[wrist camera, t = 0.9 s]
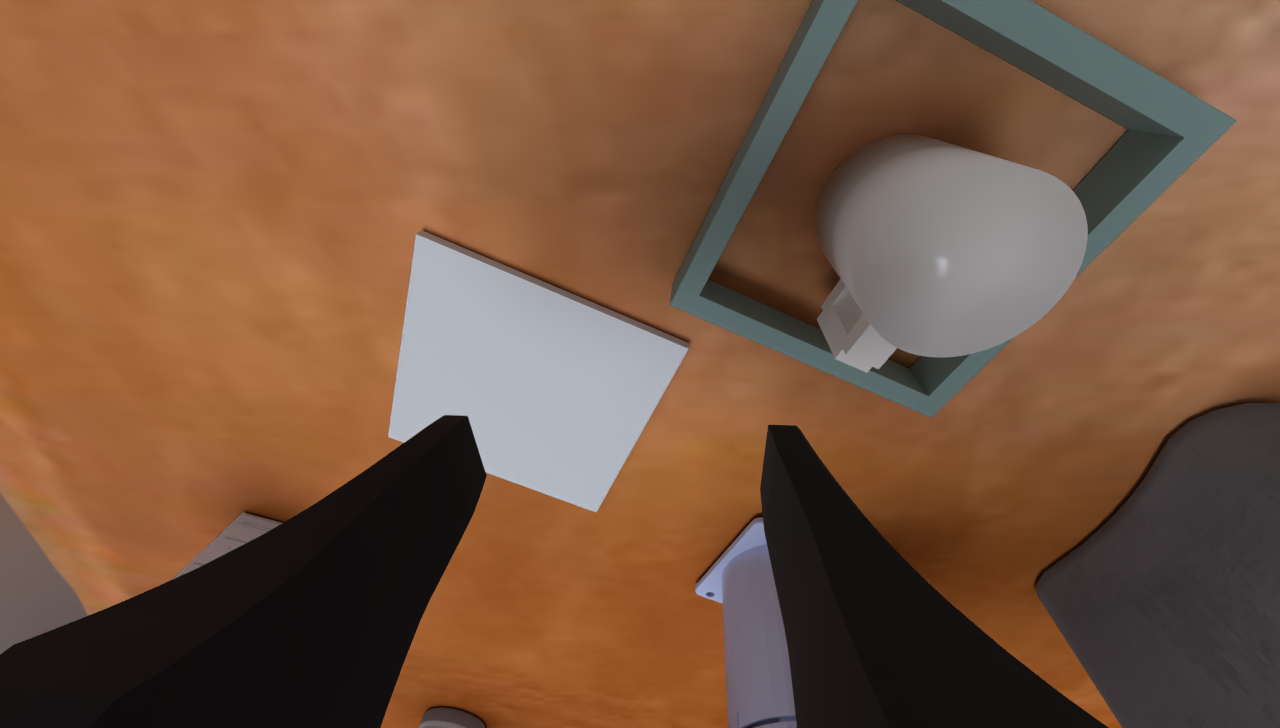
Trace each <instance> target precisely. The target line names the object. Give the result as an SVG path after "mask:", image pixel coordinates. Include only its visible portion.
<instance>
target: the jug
mask: <svg viewBox="0 0 1280 728" xmlns="http://www.w3.org/2000/svg"><path fill="white" fill-rule="evenodd" d="M814 228H815V235H816V239H817V242H818V245H819V247H820V249H821V251H822V252H823V254H824V255H825V257H826V258H827V260H828V261H829V263H830V264H831V266H832V267H833V269H834V270H835V271H836V273H837V274H838V276H839V277H840V280H839V282H838V283H837V285H836V286H835V287H834V289H833V290H832V292H831V293H830V294H829V296H828V297H827V299H826V300H825V301H824V303H823V304H822V306H821V308H822V310H823V311H822V313H821V314H820V315H819V317H818V318H817V322H818V324H819V326H820V328H821V330H822V332H823V334H824V336H825V339H826V341H827V343H828V345H829V347H830V349H831V351H832V353H833V356H834V358H835V359H836V360H839V361H841V362H843V363H846V364H848V365H850V366H852V367H855V368H857V369H859V370H862V371H864V372H866V373H867V372H868V371H869V370H870V369H871V368H872V367H874V368H876V369H879V368H880V367H881V366H882V365H883V364H884V363H885V362H886V360H887V359H888V358H889V357H890V356H891V355H892V354H893V352H894V351H895V350H896V349H897V348H898V349H900V350H903V351H906V352H908V353H911V354H915V355H920V356H926V357H956V356H963V355H968V354H973V353H977V352H980V351H983V350H987V349H989V348H992V347H994V346H997V345H1000V344H1002V343H1004V342H1006V341H1008V340H1010V339H1012V338H1014V337H1015V336H1017V335H1019V334H1020V333H1022V332H1024V331H1025V330H1027V329H1028V328H1029V327H1031V326H1032V325H1034V324H1035V323H1036V322H1038V321H1039V320H1040V319H1041V318H1042V317H1043V316H1045V315H1046V314H1047V313H1048V312H1049V311H1050V310H1051V309H1052V308H1053V307H1054V306H1055V305H1056V304H1057V303H1058V302H1059V300H1060V299H1061V298H1062V297H1063V295H1064V294H1065V293H1066V291H1067V290H1068V289H1069V287H1070V285H1071V284H1072V282H1073V281H1074V279H1075V277H1076V275H1077V273H1078V271H1079V269H1080V267H1081V264H1082V261H1083V258H1084V255H1085V252H1086V246H1087V239H1088V225H1087V220H1086V215H1085V212H1084V209H1083V207H1082V204H1081V202H1080V200H1079V199H1078V197H1077V196H1076V195H1075V193H1074V192H1073V191H1072V190H1071V189H1070V188H1069V187H1068V186H1067V185H1066V184H1065V183H1064V182H1062V181H1061V180H1059V179H1058V178H1056V177H1055V176H1053V175H1051V174H1048V173H1046V172H1043V171H1041V170H1038V169H1034V168H1031V167H1028V166H1024V165H1021V164H1018V163H1014V162H1011V161H1008V160H1004V159H1001V158H997V157H994V156H991V155H987V154H984V153H981V152H977V151H974V150H970V149H967V148H964V147H960V146H957V145H954V144H950V143H947V142H944V141H940V140H937V139H933V138H930V137H926V136H922V135H916V134H898V135H893V136H888V137H884V138H881V139H878V140H876V141H873V142H871V143H869V144H867V145H865V146H863V147H862V148H860V149H858V150H857V151H855V152H854V153H853V154H851V155H850V156H849V157H847V158H846V159H845V160H844V161H843V162H842V163H841V164H840V165H839V166H838V167H837V168H836V170H835V171H834V172H833V173H832V175H831V176H830V177H829V179H828V180H827V182H826V184H825V185H824V187H823V189H822V191H821V194H820V196H819V199H818V202H817V205H816V209H815V217H814Z"/></svg>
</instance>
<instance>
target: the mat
mask: <svg viewBox="0 0 1280 728" xmlns="http://www.w3.org/2000/svg"><path fill="white" fill-rule="evenodd" d="M688 349H689V343H688V342H685V341H683V340H680V339H678V338H676V337H673V336H671V335H669V334H666V333H664V332H662V331H659V330H657V329H654V328H652V327H650V326H647V325H645V324H643V323H640V322H638V321H636V320H633V319H631V318H628V317H626V316H624V315H621V314H619V313H617V312H614V311H612V310H610V309H607V308H605V307H602V306H600V305H598V304H595V303H593V302H591V301H588V300H586V299H583V298H581V297H579V296H576V295H574V294H572V293H569V292H567V291H565V290H562V289H560V288H557V287H555V286H553V285H550V284H548V283H546V282H543V281H541V280H539V279H536V278H534V277H531V276H529V275H527V274H524V273H522V272H520V271H517V270H515V269H512V268H510V267H508V266H505V265H503V264H501V263H498V262H496V261H494V260H491V259H489V258H486V257H484V256H482V255H479V254H477V253H475V252H472V251H470V250H468V249H465V248H463V247H460V246H458V245H456V244H453V243H451V242H449V241H446V240H444V239H442V238H439V237H437V236H434V235H432V234H430V233H427V232H425V231H423V230H422V231H421V232H419V233H417V234H416V239H415V247H414V254H413V261H412V268H411V276H410V283H409V290H408V297H407V304H406V312H405V319H404V326H403V333H402V340H401V348H400V355H399V362H398V369H397V376H396V384H395V391H394V398H393V405H392V413H391V420H390V427H389V434H388V437H390V438H393V439H395V440H398V441H401V442H404V443H405V442H406V441H407V440H409V439H410V438H412V437H413V436H414V435H416V434H417V433H419V432H420V431H421V430H423V429H424V428H426V427H427V426H428V425H430V424H431V423H433V422H434V421H436V420H437V419H439V418H441V417H442V416H444V415H460V416H468V418H469V421H470V425H471V428H472V431H473V434H474V437H475V441H476V444H477V447H478V450H479V453H480V457H481V460H482V463H483V466H484V469H485V472H486V473H489V474H492V475H495V476H497V477H500V478H503V479H506V480H508V481H511V482H514V483H517V484H519V485H522V486H525V487H528V488H530V489H533V490H536V491H539V492H541V493H544V494H547V495H550V496H552V497H555V498H558V499H561V500H563V501H566V502H569V503H572V504H574V505H577V506H580V507H583V508H585V509H588V510H591V511H594V512H597V510H598V508H599V507H600V505H601V503H602V501H603V500H604V498H605V496H606V494H607V492H608V491H609V489H610V487H611V485H612V484H613V482H614V480H615V478H616V477H617V475H618V473H619V471H620V469H621V468H622V466H623V464H624V462H625V461H626V459H627V457H628V455H629V454H630V452H631V450H632V448H633V446H634V445H635V443H636V441H637V439H638V438H639V436H640V434H641V432H642V431H643V429H644V427H645V425H646V423H647V422H648V420H649V418H650V416H651V415H652V413H653V411H654V409H655V408H656V406H657V404H658V402H659V400H660V399H661V397H662V395H663V393H664V392H665V390H666V388H667V386H668V384H669V383H670V381H671V379H672V377H673V376H674V374H675V372H676V370H677V369H678V367H679V365H680V363H681V361H682V360H683V358H684V356H685V354H686V353H687V351H688Z"/></svg>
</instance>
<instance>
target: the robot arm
mask: <svg viewBox="0 0 1280 728" xmlns="http://www.w3.org/2000/svg"><path fill="white" fill-rule="evenodd" d="M485 479H486V472H485V469H484V466H483V463H482V460H481V457H480V453H479V450H478V447H477V444H476V441H475V437H474V434H473V431H472V428H471V425H470V421H469V418H468V416H460V415H444V416H442V417H441V418H439V419H437V420H436V421H434V422H433V423H431V424H430V425H428V426H427V427H426V428H424V429H423V430H421V431H420V432H419V433H417V434H416V435H414V436H413V437H412V438H410V439H409V440H407V441H406V442H405V443H403V444H402V445H400V446H399V447H398V448H396V449H395V450H394V451H392V452H391V453H389V454H388V455H386V456H385V457H384V458H382V459H381V460H379V461H378V462H377V463H375V464H374V465H372V466H371V467H370V468H368V469H367V470H365V471H364V472H363V473H361V474H359V475H358V476H356V477H355V478H353V479H352V480H350V481H349V482H347V483H346V484H344V485H343V486H341V487H340V488H338V489H337V490H335V491H334V492H332V493H331V494H329V495H328V496H326V497H325V498H323V499H322V500H320V501H319V502H317V503H316V504H314V505H312V506H311V507H309V508H308V509H306V510H304V511H303V512H301V513H299V514H298V515H296V516H294V517H293V518H291V519H289V520H287V521H286V522H284V523H282V524H280V525H279V526H277V527H275V528H273V529H272V530H270V531H268V532H266V533H264V534H263V535H261V536H259V537H257V538H255V539H253V540H251V541H250V542H248V543H246V544H244V545H242V546H240V547H238V548H236V549H234V550H232V551H230V552H228V553H226V554H224V555H222V556H220V557H218V558H216V559H214V560H212V561H210V562H208V563H206V564H205V565H203V566H201V567H199V568H196V569H194V570H192V571H190V572H188V573H186V574H184V575H182V576H179V577H177V578H175V579H173V580H171V581H169V582H166V583H164V584H162V585H160V586H158V587H155V588H153V589H151V590H148V591H146V592H144V593H142V594H139V595H137V596H135V597H133V598H130V599H128V600H126V601H123V602H121V603H119V604H116V605H114V606H111V607H109V608H107V609H104V610H102V611H99V612H97V613H94V614H92V615H89V616H87V617H84V618H82V619H79V620H77V621H74V622H72V623H69V624H67V625H64V626H62V627H59V628H56V629H54V630H51V631H49V632H46V633H44V634H41V635H38V636H36V637H33V638H31V639H28V640H25V641H23V642H20V643H17V644H15V645H13V646H11V647H10V648H9V649H7V650H6V651H5V652H3V653H2V654H1V655H0V728H380V727H381V724H382V721H383V718H384V715H385V712H386V709H387V707H388V704H389V701H390V698H391V696H392V693H393V690H394V687H395V685H396V682H397V679H398V676H399V674H400V671H401V668H402V666H403V663H404V660H405V658H406V655H407V653H408V650H409V648H410V645H411V643H412V640H413V638H414V635H415V633H416V630H417V627H418V625H419V622H420V620H421V618H422V616H423V613H424V611H425V609H426V607H427V605H428V603H429V600H430V598H431V596H432V594H433V593H434V591H435V589H436V587H437V585H438V583H439V581H440V579H441V577H442V575H443V573H444V571H445V569H446V567H447V565H448V563H449V561H450V559H451V557H452V555H453V553H454V552H455V550H456V548H457V546H458V544H459V542H460V540H461V538H462V536H463V534H464V532H465V530H466V528H467V526H468V524H469V522H470V520H471V518H472V515H473V513H474V511H475V508H476V505H477V503H478V500H479V497H480V494H481V491H482V488H483V485H484V482H485ZM760 491H761V502H762V514H763V518H762V517H759V518H755V519H754V520H752V522H751V523H750V524H749V525H748V526H747V527H746V528H745V529H744V531H743V532H742V533H741V534H740V535H739V536H738V537H737V539H736V540H735V541H734V542H733V543H732V544H731V545H730V546H729V548H728V549H727V550H726V551H725V552H724V553H723V554H722V555H721V557H720V558H719V559H718V560H717V561H716V562H715V563H714V565H713V566H712V567H711V568H710V569H709V570H708V571H707V572H706V574H705V575H704V576H703V577H702V578H701V579H700V580H699V582H698V583H697V584H696V585H695V592H696V593H697V594H698V595H700V596H703V597H705V598H708V599H711V600H714V601H717V602H720V603H723V623H724V646H725V669H726V692H727V714H728V728H1108V727H1107V726H1105V725H1104V724H1102V723H1101V722H1100V721H1098V720H1097V719H1095V718H1094V717H1093V716H1091V715H1090V714H1088V713H1087V712H1086V711H1084V710H1083V709H1082V708H1080V707H1079V706H1077V705H1076V704H1075V703H1073V702H1072V701H1070V700H1069V699H1068V698H1066V697H1065V696H1063V695H1062V694H1061V693H1060V692H1058V691H1057V690H1056V689H1054V688H1053V687H1052V686H1050V685H1049V684H1048V683H1047V682H1045V681H1044V680H1043V679H1041V678H1040V677H1039V676H1038V675H1036V674H1035V673H1034V672H1032V671H1031V670H1030V669H1029V668H1027V667H1026V666H1025V665H1023V664H1022V663H1021V662H1020V661H1018V660H1017V659H1016V658H1015V657H1013V656H1012V655H1011V654H1009V653H1008V652H1007V651H1006V650H1005V649H1003V648H1002V647H1001V646H1000V645H998V644H997V643H996V642H995V641H994V640H993V639H991V638H990V637H989V636H988V635H987V634H986V633H984V632H983V631H982V630H981V629H980V628H979V627H977V626H976V625H975V624H974V623H973V622H972V621H970V620H969V619H968V618H967V617H966V616H965V615H963V614H962V613H961V612H960V611H959V610H958V609H956V608H955V607H954V606H953V605H952V604H951V603H949V602H948V601H947V600H946V599H945V598H944V597H943V596H942V595H941V594H940V593H939V592H938V591H937V590H935V589H934V588H933V587H932V586H931V585H930V584H929V583H928V582H927V581H926V580H925V579H924V578H923V577H922V576H921V575H920V574H919V573H918V572H917V571H916V570H915V569H914V568H913V567H912V566H911V565H910V564H909V563H908V562H907V561H906V560H905V559H904V558H903V557H902V556H901V555H900V554H899V553H898V552H897V551H896V550H895V549H894V548H893V547H892V546H891V545H890V544H889V543H888V541H887V540H886V539H885V538H884V537H883V536H882V535H881V534H880V533H879V532H878V530H877V529H876V528H875V527H874V526H873V525H872V524H871V523H870V521H869V520H868V519H867V518H866V517H865V516H864V514H863V513H862V512H861V511H860V510H859V509H858V507H857V506H856V505H855V504H854V503H853V501H852V500H851V499H850V497H849V496H848V495H847V494H846V492H845V491H844V490H843V489H842V487H841V486H840V485H839V484H838V482H837V481H836V480H835V479H834V477H833V476H832V475H831V473H830V472H829V471H828V469H827V468H826V466H825V465H824V464H823V462H822V461H821V460H820V458H819V457H818V455H817V454H816V453H815V451H814V450H813V448H812V447H811V445H810V444H809V442H808V441H807V439H806V438H805V436H804V435H803V433H802V432H801V430H800V429H799V428H798V427H797V426H788V425H768V432H767V440H766V448H765V456H764V463H763V471H762V479H761V487H760Z"/></svg>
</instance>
